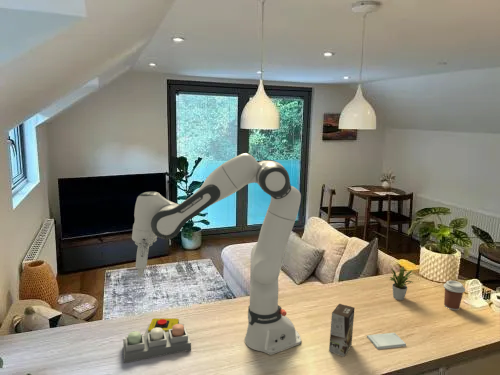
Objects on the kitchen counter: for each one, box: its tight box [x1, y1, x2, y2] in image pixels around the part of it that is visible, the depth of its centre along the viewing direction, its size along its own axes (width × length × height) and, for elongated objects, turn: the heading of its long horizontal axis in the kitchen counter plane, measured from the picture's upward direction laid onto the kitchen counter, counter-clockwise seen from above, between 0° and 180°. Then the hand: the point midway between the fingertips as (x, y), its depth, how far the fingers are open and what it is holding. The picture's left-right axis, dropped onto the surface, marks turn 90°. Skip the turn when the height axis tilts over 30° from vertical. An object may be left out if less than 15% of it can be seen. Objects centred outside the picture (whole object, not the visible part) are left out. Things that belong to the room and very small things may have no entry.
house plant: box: [389, 266, 415, 301], centre depth 182 cm, size 14×14×16 cm
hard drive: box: [366, 332, 407, 350], centre depth 147 cm, size 2×8×12 cm
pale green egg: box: [127, 330, 142, 345], centre depth 136 cm, size 4×4×3 cm
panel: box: [122, 326, 192, 364], centre depth 139 cm, size 24×10×5 cm, turn 110°
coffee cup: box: [442, 280, 466, 311], centre depth 175 cm, size 9×9×12 cm
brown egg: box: [172, 323, 185, 337], centre depth 141 cm, size 4×4×3 cm
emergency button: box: [143, 317, 185, 336], centre depth 151 cm, size 9×4×15 cm
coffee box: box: [328, 303, 355, 357], centre depth 141 cm, size 9×6×16 cm
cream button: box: [151, 328, 163, 341], centre depth 139 cm, size 4×4×3 cm
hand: (141, 270), depth 137 cm, fingers open, 8 cm apart
